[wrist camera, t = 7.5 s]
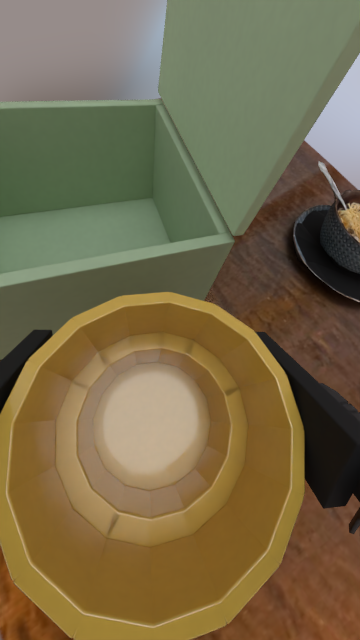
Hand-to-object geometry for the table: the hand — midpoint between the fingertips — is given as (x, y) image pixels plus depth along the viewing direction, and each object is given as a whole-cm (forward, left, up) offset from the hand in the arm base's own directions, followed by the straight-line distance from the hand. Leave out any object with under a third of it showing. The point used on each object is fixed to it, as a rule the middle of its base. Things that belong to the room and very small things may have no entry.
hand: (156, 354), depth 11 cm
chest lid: (-1, +15, +11) cm, 18 cm away
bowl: (+1, -3, -4) cm, 5 cm away
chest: (-9, +10, -9) cm, 16 cm away
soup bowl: (+19, +21, -10) cm, 30 cm away
